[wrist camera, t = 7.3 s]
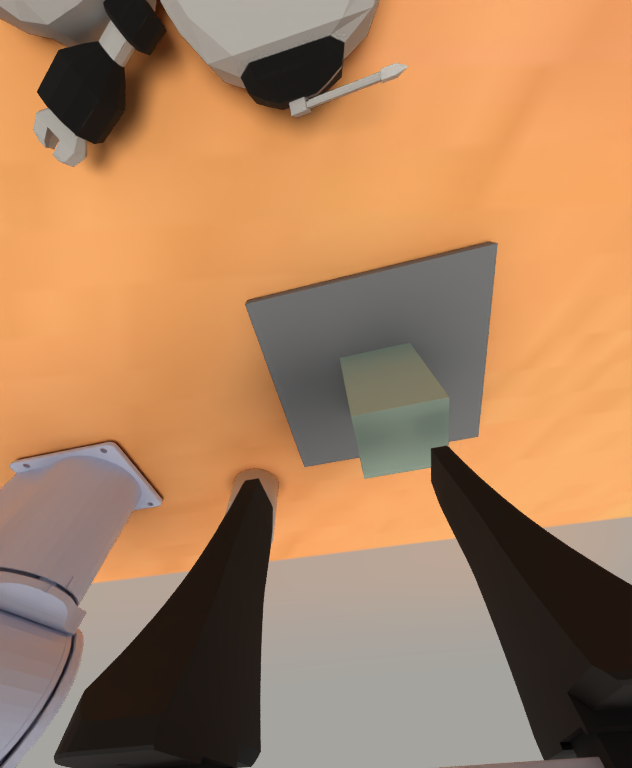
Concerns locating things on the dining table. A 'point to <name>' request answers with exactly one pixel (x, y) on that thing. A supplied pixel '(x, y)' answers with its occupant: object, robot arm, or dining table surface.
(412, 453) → the block
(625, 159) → the dining table surface
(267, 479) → the grey cylinder
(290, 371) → the mat
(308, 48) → the robot toy
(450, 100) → the dining table surface
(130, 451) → the dining table surface
